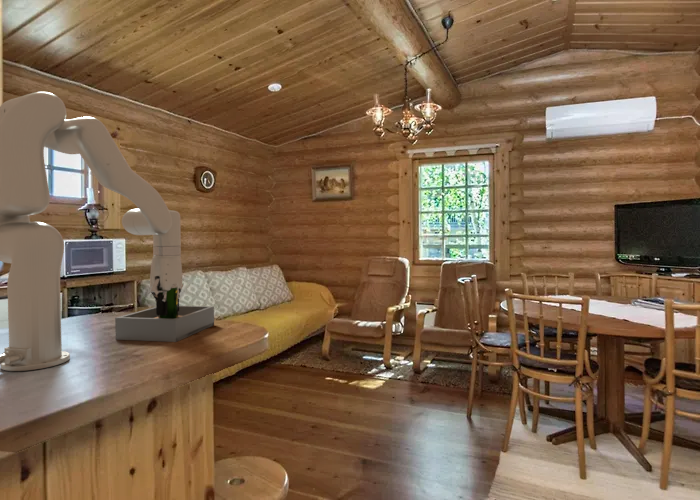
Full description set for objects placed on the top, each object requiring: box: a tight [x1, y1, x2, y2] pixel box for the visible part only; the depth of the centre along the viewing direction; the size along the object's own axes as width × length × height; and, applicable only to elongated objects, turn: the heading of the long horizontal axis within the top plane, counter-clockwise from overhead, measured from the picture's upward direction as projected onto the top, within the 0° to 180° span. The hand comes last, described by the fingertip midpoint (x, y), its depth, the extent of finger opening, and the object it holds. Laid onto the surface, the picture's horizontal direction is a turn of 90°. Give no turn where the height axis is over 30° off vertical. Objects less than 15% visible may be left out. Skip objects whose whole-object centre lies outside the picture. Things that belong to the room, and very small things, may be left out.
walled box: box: [114, 305, 215, 343], centre depth 129 cm, size 22×18×6 cm
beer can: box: [158, 284, 178, 319], centre depth 128 cm, size 5×5×12 cm
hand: (168, 312), depth 129 cm, fingers closed on beer can, 5 cm apart
